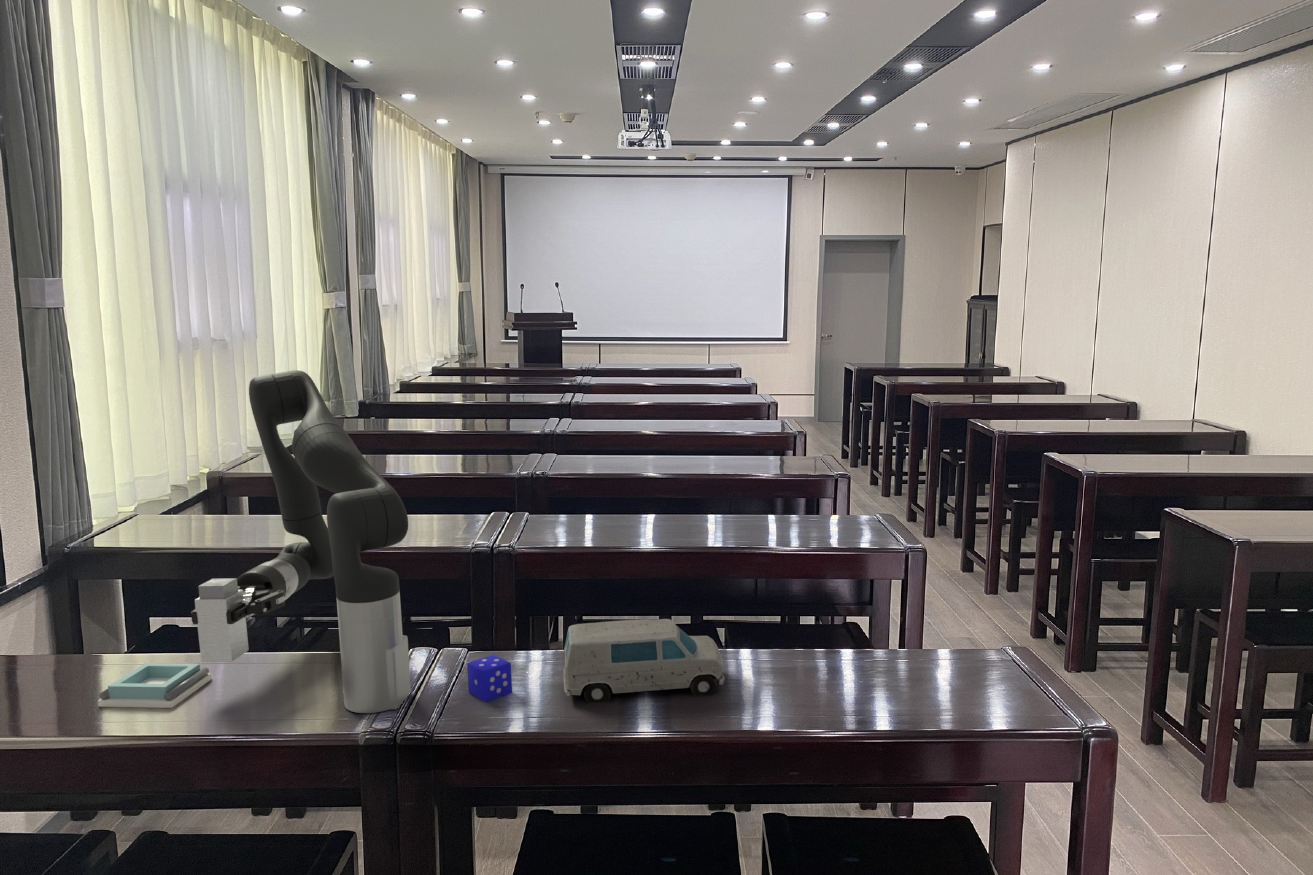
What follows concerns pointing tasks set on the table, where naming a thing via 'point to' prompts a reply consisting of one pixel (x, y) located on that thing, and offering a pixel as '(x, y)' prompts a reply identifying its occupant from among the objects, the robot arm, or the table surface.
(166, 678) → the tray
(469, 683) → the die
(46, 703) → the table surface
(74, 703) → the table surface
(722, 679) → the toy car
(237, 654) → the stepped metal tower
